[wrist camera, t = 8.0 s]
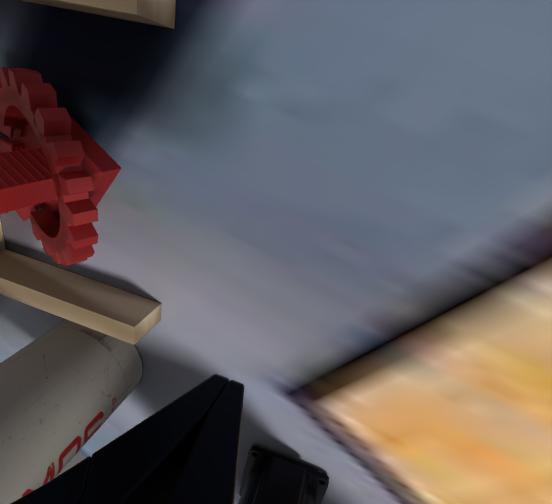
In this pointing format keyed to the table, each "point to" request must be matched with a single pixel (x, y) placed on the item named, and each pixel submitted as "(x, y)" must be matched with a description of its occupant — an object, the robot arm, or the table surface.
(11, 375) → the thermos bottle
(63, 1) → the carrier
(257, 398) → the table surface
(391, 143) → the table surface
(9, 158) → the red cog wheel
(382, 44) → the table surface
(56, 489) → the robot arm
